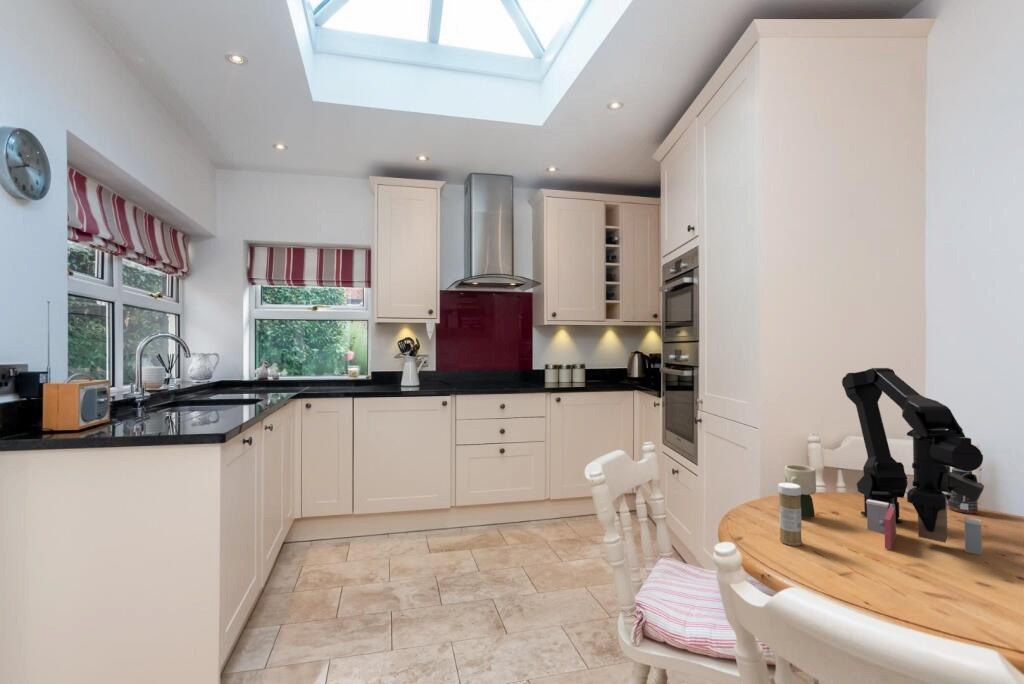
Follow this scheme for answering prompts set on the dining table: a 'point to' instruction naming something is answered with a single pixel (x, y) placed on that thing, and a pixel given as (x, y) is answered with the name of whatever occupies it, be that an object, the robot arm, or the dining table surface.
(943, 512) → the block
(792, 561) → the dining table surface
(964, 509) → the supplement bottle
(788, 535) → the sprinkles bottle
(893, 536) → the door
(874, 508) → the pair of grey plates
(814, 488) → the character mug
